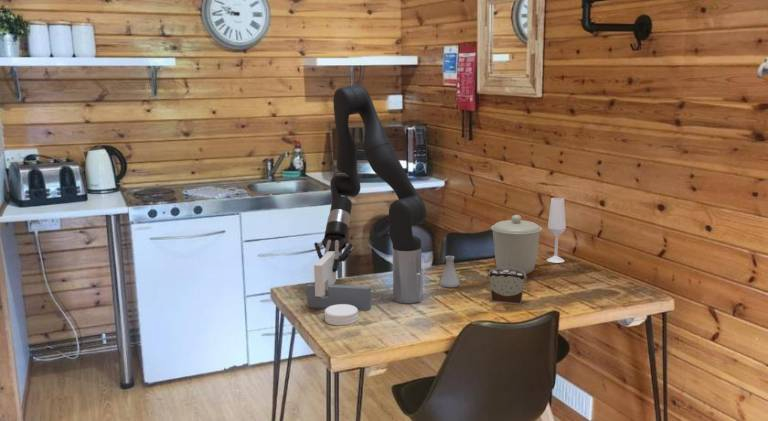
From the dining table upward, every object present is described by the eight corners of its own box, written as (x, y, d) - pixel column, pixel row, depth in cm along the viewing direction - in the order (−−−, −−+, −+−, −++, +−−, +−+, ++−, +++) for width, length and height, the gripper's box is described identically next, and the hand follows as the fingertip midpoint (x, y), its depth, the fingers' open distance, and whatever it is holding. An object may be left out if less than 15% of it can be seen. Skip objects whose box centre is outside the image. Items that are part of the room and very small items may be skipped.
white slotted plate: (328, 280, 233) (327, 251, 231) (336, 280, 233) (335, 251, 230) (315, 296, 218) (314, 265, 216) (323, 296, 217) (322, 265, 215)
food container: (528, 298, 227) (529, 268, 225) (525, 304, 221) (526, 274, 219) (490, 295, 231) (490, 265, 229) (487, 301, 225) (487, 271, 223)
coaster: (360, 324, 207) (360, 313, 207) (327, 327, 205) (326, 316, 205) (355, 313, 217) (354, 302, 216) (322, 316, 215) (322, 305, 214)
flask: (436, 287, 240) (436, 258, 238) (442, 280, 247) (442, 253, 245) (456, 289, 238) (457, 260, 236) (462, 283, 244) (462, 255, 242)
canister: (503, 262, 269) (504, 208, 265) (548, 269, 258) (550, 213, 254) (481, 273, 254) (482, 216, 250) (527, 281, 244) (529, 222, 240)
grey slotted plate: (371, 307, 221) (370, 286, 219) (369, 310, 218) (368, 288, 217) (309, 304, 225) (308, 283, 223) (307, 307, 222) (306, 286, 221)
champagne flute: (565, 258, 272) (568, 197, 267) (563, 263, 266) (565, 200, 261) (548, 257, 274) (549, 196, 269) (545, 261, 268) (547, 200, 263)
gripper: (315, 219, 236) (305, 264, 227) (355, 220, 233) (347, 266, 224) (320, 231, 242) (311, 275, 233) (359, 232, 239) (352, 277, 230)
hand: (329, 271), depth 228 cm, fingers closed on white slotted plate, 2 cm apart
